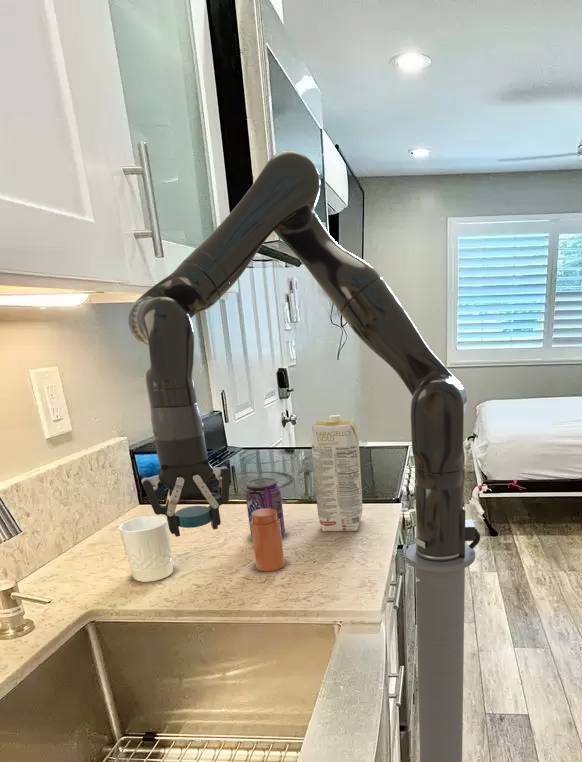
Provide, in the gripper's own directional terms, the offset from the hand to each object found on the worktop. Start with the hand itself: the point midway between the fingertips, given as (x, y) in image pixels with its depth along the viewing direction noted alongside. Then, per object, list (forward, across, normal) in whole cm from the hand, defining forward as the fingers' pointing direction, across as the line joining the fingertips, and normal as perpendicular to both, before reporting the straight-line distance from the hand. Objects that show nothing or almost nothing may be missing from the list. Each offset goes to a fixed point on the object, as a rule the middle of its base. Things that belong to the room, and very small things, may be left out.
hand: (196, 531), depth 97 cm
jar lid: (-3, 0, 0) cm, 3 cm away
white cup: (+10, +8, -9) cm, 15 cm away
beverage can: (+10, -16, -16) cm, 25 cm away
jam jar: (+10, -12, -1) cm, 16 cm away
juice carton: (+10, -32, -13) cm, 36 cm away
